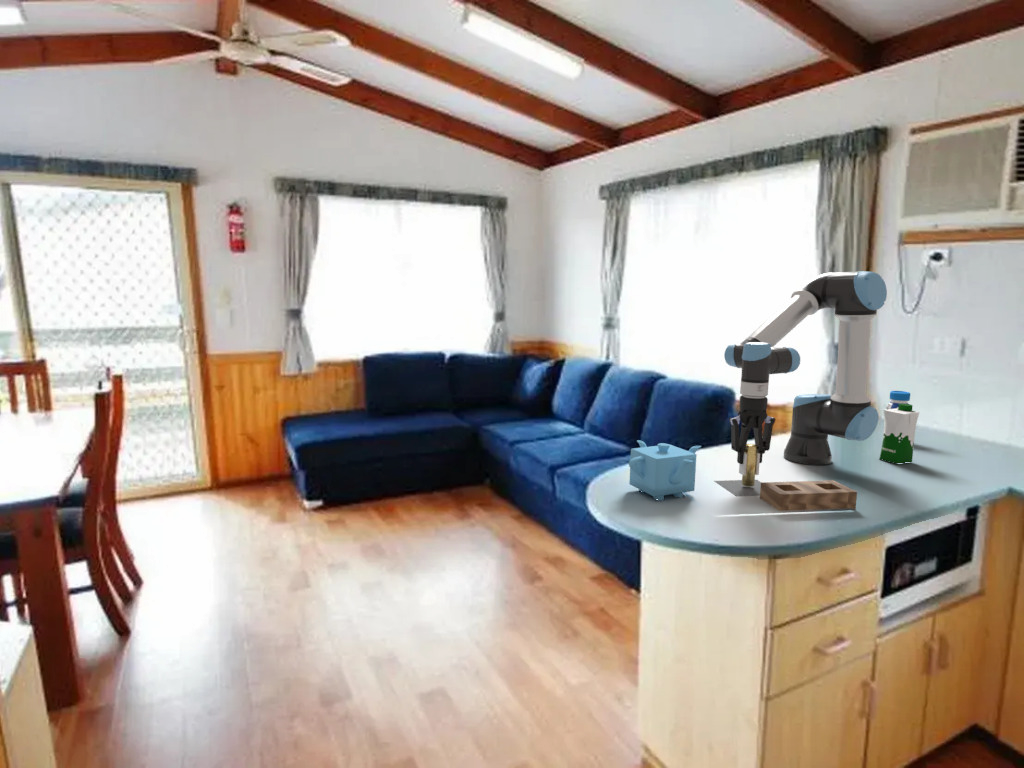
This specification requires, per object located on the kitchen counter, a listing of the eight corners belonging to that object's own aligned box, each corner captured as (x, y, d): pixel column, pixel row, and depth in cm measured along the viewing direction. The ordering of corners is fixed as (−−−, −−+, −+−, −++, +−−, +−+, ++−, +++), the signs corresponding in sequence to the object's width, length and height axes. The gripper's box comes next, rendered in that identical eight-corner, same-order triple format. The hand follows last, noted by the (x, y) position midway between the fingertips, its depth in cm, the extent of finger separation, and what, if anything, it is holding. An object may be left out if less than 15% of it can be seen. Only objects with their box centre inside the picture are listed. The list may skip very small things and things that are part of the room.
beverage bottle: (886, 438, 246) (891, 389, 243) (910, 441, 240) (916, 392, 237) (879, 441, 240) (884, 391, 237) (903, 445, 234) (909, 394, 231)
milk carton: (916, 463, 210) (923, 406, 207) (898, 465, 206) (905, 408, 203) (891, 456, 218) (898, 402, 215) (874, 459, 214) (880, 403, 211)
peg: (750, 482, 182) (753, 443, 180) (756, 486, 178) (759, 446, 176) (739, 482, 181) (742, 443, 180) (745, 486, 178) (747, 446, 176)
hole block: (831, 497, 174) (833, 480, 173) (855, 509, 164) (857, 491, 163) (759, 499, 171) (760, 482, 170) (779, 512, 161) (780, 494, 160)
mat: (756, 481, 188) (756, 479, 188) (782, 496, 174) (782, 494, 174) (713, 482, 186) (713, 480, 186) (736, 497, 172) (736, 496, 172)
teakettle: (623, 499, 170) (625, 448, 168) (635, 480, 187) (637, 433, 185) (693, 508, 163) (696, 455, 161) (698, 487, 181) (701, 439, 178)
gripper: (733, 398, 171) (728, 478, 175) (787, 397, 173) (781, 476, 177) (721, 394, 178) (716, 471, 182) (773, 393, 180) (767, 469, 184)
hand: (748, 473), depth 179 cm, fingers closed on peg, 3 cm apart
